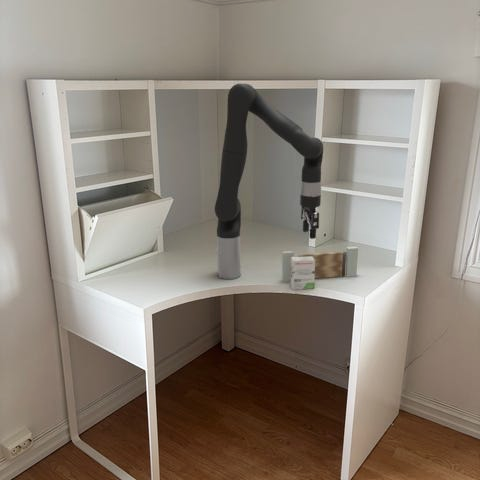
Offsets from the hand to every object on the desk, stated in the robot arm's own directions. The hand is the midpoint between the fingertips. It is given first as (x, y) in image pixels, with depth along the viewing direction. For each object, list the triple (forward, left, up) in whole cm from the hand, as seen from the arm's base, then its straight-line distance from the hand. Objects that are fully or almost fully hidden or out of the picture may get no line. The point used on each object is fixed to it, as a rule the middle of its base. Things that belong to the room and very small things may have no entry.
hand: (309, 234), depth 187 cm
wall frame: (+6, +4, -20) cm, 21 cm away
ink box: (-3, -3, -20) cm, 20 cm away
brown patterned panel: (+7, +4, -19) cm, 21 cm away
